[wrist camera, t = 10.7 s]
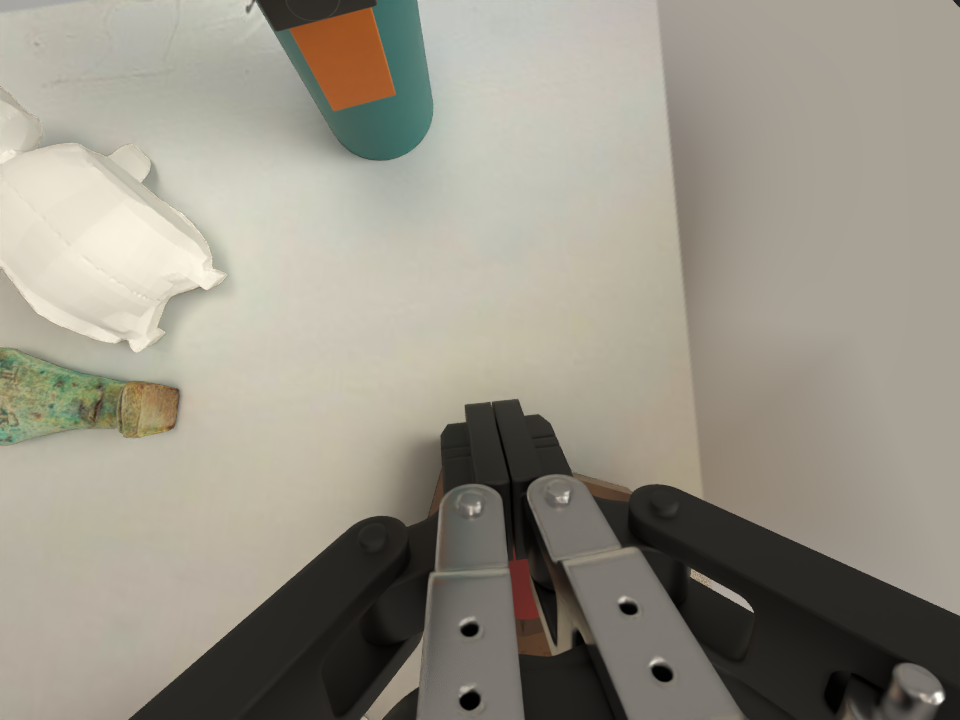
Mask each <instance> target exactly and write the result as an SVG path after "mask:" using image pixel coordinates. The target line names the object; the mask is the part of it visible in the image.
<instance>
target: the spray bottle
mask: <svg viewBox="0 0 960 720" xmlns="http://www.w3.org/2000/svg"><path fill="white" fill-rule="evenodd" d="M255 1H256V3H257V4H258V6H259V8H260V10H261V11H262V13H263V15H264V16H265V18H266V20H267V21H268V23H269V25H270V26H271V28H272V30H273V32H274V33H275V35H276V37H277V38H278V40H279V42H280V43H281V45H282V47H283V48H284V50H285V52H286V54H287V55H288V57H289V59H290V60H291V62H292V64H293V65H294V67H295V69H296V71H297V72H298V74H299V76H300V77H301V79H302V81H303V82H304V84H305V86H306V87H307V89H308V91H309V93H310V94H311V96H312V98H313V99H314V101H315V103H316V104H317V106H318V108H319V109H320V111H321V113H322V115H323V116H324V118H325V120H326V121H327V123H328V125H329V126H330V128H331V130H332V131H333V133H334V135H335V136H336V138H337V139H338V140H339V142H340V143H341V144H342V145H343V146H344V147H346V148H347V149H348V150H349V151H351V152H352V153H354V154H356V155H358V156H361V157H364V158H367V159H372V160H388V159H393V158H396V157H399V156H402V155H404V154H406V153H408V152H409V151H411V150H412V149H413V148H414V147H416V146H417V145H418V144H419V143H420V142H421V140H422V139H423V138H424V136H425V135H426V133H427V131H428V129H429V127H430V124H431V120H432V115H433V100H432V94H431V87H430V81H429V74H428V68H427V62H426V55H425V49H424V42H423V36H422V29H421V23H420V17H419V10H418V4H417V0H255ZM371 7H372V11H373V14H374V18H375V21H376V25H377V28H378V32H379V35H380V39H381V43H382V46H383V50H384V53H385V57H386V60H387V64H388V67H389V71H390V75H391V78H392V82H393V86H394V89H395V93H396V95H394V96H390V97H386V98H383V99H379V100H375V101H371V102H367V103H364V104H360V105H356V106H352V107H348V108H345V109H341V110H337V111H333V110H332V108H331V106H330V104H329V102H328V100H327V98H326V97H325V95H324V93H323V91H322V89H321V87H320V85H319V84H318V82H317V80H316V78H315V76H314V74H313V73H312V71H311V69H310V67H309V65H308V63H307V61H306V60H305V58H304V56H303V54H302V52H301V50H300V49H299V47H298V45H297V43H296V41H295V39H294V37H293V36H292V34H291V32H290V30H289V29H290V28H294V27H298V26H302V25H306V24H309V23H313V22H317V21H321V20H325V19H329V18H332V17H336V16H340V15H344V14H348V13H352V12H355V11H359V10H363V9H367V8H371Z"/></svg>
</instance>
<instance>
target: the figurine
mask: <svg viewBox="0 0 960 720" xmlns="http://www.w3.org/2000/svg"><path fill="white" fill-rule="evenodd" d="M178 401H179V390H178V389H177V388H172V387H168V386H164V385H160V384H154V383H148V382H140V381H132V382H128V383H124V382H120V381H117V380H113V379H109V378H105V377H99V376H92V375H86V374H82V373H78V372H75V371H71V370H68V369H64V368H61V367H59V366H56V365H53V364H50V363H48V362H45V361H43V360H40V359H37V358H34V357H31V356H29V355H27V354H25V353H23V352H21V351H19V350H17V349H12V348H0V446H5V445H12V444H16V443H19V442H21V441H24V440H27V439H29V438H33V437H37V436H42V435H47V434H51V433H56V432H61V431H66V430H70V429H78V428H117V427H118V430H119V432H120V433H122V434H123V436H124V437H126V438H139V437H144V436H148V435H152V434H157V433H161V432H164V431H169V430H171V429H173V428H174V426H175V422H176V416H177V408H178Z"/></svg>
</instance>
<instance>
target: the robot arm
mask: <svg viewBox="0 0 960 720" xmlns="http://www.w3.org/2000/svg"><path fill="white" fill-rule="evenodd" d="M465 417H466V422H464V423H455V424H447V426H446V428H445V429H444V431H443V432H442V434H441V456H442V477H443V498H442V500H441V502H440V506H439V509H438V510H437V511H436V512H435V513H434V514H433V515H432V516H430V517H429V518H427V519H426V520H424V521H422V522H419V523H417V524H414V525H411V526H409V527H406V526H405V525H404V524H403V523H402V522H401V521H400V520H398V519H396V518H393V517H389V516H375V517H370V518H367V519H364V520H362V521H360V522H358V523H356V524H354V525H353V526H352V527H350V528H349V529H348V530H347V531H346V532H345V533H343V534H342V535H341V536H340V537H339V538H338V539H336V540H335V541H334V542H333V543H332V544H331V545H330V546H328V547H327V548H326V549H325V550H324V551H323V552H321V553H320V554H319V555H318V556H317V557H316V558H315V559H313V560H312V561H311V562H310V563H309V564H308V565H306V566H305V567H304V568H303V569H302V570H301V571H300V572H298V573H297V574H296V575H295V576H294V577H293V578H291V579H290V580H289V581H288V582H287V583H286V584H285V585H283V586H282V587H281V588H280V589H279V590H278V591H276V592H275V593H274V594H273V595H272V596H271V597H270V598H268V599H267V600H266V601H265V602H264V603H263V604H261V605H260V606H259V607H258V608H257V609H256V610H255V611H253V612H252V613H251V614H250V615H249V616H248V617H246V618H245V619H244V620H243V621H242V622H241V623H240V624H238V625H237V626H236V627H235V628H234V629H233V630H231V631H230V632H229V633H228V634H227V635H226V636H224V637H223V638H222V639H221V640H220V641H219V642H218V643H216V644H215V645H214V646H213V647H212V648H211V649H209V650H208V651H207V652H206V653H205V654H204V655H203V656H201V657H200V658H199V659H198V660H197V661H196V662H194V663H193V664H192V665H191V666H190V667H189V668H188V669H186V670H185V671H184V672H183V673H182V674H181V675H179V676H178V677H177V678H176V679H175V680H174V681H173V682H171V683H170V684H169V685H168V686H167V687H166V688H164V689H163V690H162V691H161V692H160V693H159V694H158V695H156V696H155V697H154V698H153V699H152V700H151V701H149V702H148V703H147V704H146V705H145V706H144V707H143V708H141V709H140V710H139V711H138V712H137V713H136V714H134V715H133V716H132V717H131V718H130V719H129V720H360V719H361V718H362V717H363V716H364V714H365V713H366V712H367V710H368V709H369V708H370V707H371V705H372V704H373V703H374V701H375V700H376V699H377V697H378V696H379V695H380V694H381V692H382V691H383V690H384V688H385V687H386V686H387V685H388V683H389V682H390V681H391V679H392V678H393V677H394V676H395V674H396V673H397V672H398V670H399V669H400V668H401V667H402V665H403V664H404V663H405V661H406V660H407V659H408V658H409V656H410V655H411V654H412V652H413V651H414V650H415V648H416V647H417V646H418V644H419V643H420V640H421V638H422V635H423V631H424V636H423V648H422V659H421V671H420V682H419V687H418V688H416V689H415V690H413V691H412V692H411V693H409V694H408V695H407V696H405V697H404V698H403V699H402V700H401V701H400V702H398V703H397V704H396V705H395V706H394V707H393V708H392V709H391V710H390V711H389V712H388V714H387V715H386V716H385V717H384V718H383V719H382V720H960V616H959V615H956V614H954V613H952V612H950V611H947V610H945V609H943V608H941V607H939V606H937V605H934V604H932V603H930V602H928V601H925V600H923V599H921V598H919V597H916V596H914V595H912V594H910V593H908V592H905V591H903V590H901V589H899V588H897V587H894V586H892V585H890V584H888V583H885V582H883V581H881V580H879V579H876V578H874V577H872V576H870V575H868V574H865V573H863V572H861V571H859V570H857V569H854V568H852V567H850V566H848V565H846V564H843V563H841V562H839V561H837V560H834V559H832V558H830V557H828V556H826V555H823V554H821V553H819V552H817V551H814V550H812V549H810V548H808V547H806V546H803V545H801V544H799V543H797V542H794V541H792V540H790V539H788V538H786V537H783V536H781V535H779V534H777V533H774V532H772V531H770V530H768V529H766V528H764V527H761V526H759V525H757V524H755V523H752V522H750V521H748V520H745V519H743V518H741V517H739V516H737V515H735V514H732V513H730V512H728V511H726V510H723V509H721V508H719V507H717V506H714V505H713V504H710V503H708V502H706V501H704V500H701V499H699V498H697V497H695V496H693V495H690V494H688V493H686V492H684V491H681V490H679V489H677V488H674V487H671V486H666V485H658V484H654V485H646V486H642V487H640V488H638V489H636V490H635V491H634V492H633V493H632V494H631V496H630V499H629V502H626V501H617V500H609V499H603V498H599V497H596V496H594V495H592V494H591V493H590V491H589V489H588V488H587V486H586V485H585V484H584V483H583V482H581V481H580V480H578V479H576V478H574V477H573V474H572V472H571V470H570V467H569V465H568V463H567V460H566V458H565V456H564V454H563V451H562V449H561V447H560V446H559V442H558V440H557V437H555V433H554V431H553V428H552V426H551V424H550V423H549V422H548V421H547V420H545V419H544V418H543V417H542V416H540V415H539V414H537V415H528V416H524V414H523V411H522V409H521V406H520V403H519V400H518V399H513V400H504V401H494V402H492V407H491V403H490V402H486V403H476V404H467V405H465ZM513 547H514V552H515V556H516V560H522V559H527V561H528V565H529V572H530V588H531V592H532V595H533V598H534V601H535V604H536V607H537V610H538V613H539V616H540V620H541V623H542V626H543V629H544V632H545V635H546V638H547V641H548V644H549V647H550V650H551V653H552V656H550V657H546V656H536V655H527V654H518V647H517V636H516V626H515V616H514V606H513V596H512V585H511V575H510V567H509V561H514V560H513ZM691 568H692V569H694V570H695V571H697V572H699V573H701V574H703V575H704V576H706V577H708V578H710V579H712V580H714V581H715V582H717V583H719V584H721V585H723V586H725V587H726V588H728V589H730V590H732V591H733V592H735V593H737V594H739V595H740V596H742V597H743V598H744V599H745V600H746V601H747V602H748V603H749V604H750V606H751V607H752V609H753V611H754V613H753V612H751V611H749V610H747V609H746V608H744V607H742V606H740V605H739V604H737V603H735V602H733V601H731V600H730V599H728V598H726V597H724V596H723V595H721V594H719V593H717V592H716V591H714V590H712V589H710V588H708V587H707V586H705V585H703V584H701V583H700V582H698V581H696V580H694V579H693V578H691V577H690V573H691Z"/></svg>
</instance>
